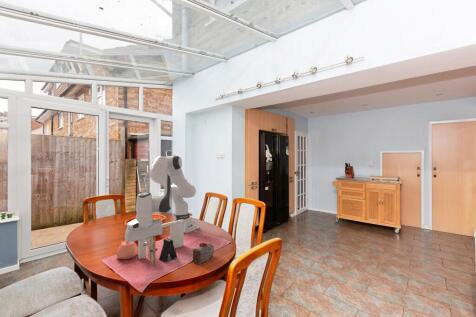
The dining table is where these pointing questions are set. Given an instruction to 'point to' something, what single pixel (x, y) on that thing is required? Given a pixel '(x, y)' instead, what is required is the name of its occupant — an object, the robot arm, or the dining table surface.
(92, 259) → the dining table surface
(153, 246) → the door
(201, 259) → the dark grey block
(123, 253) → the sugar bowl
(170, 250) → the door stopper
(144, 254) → the wall frame
